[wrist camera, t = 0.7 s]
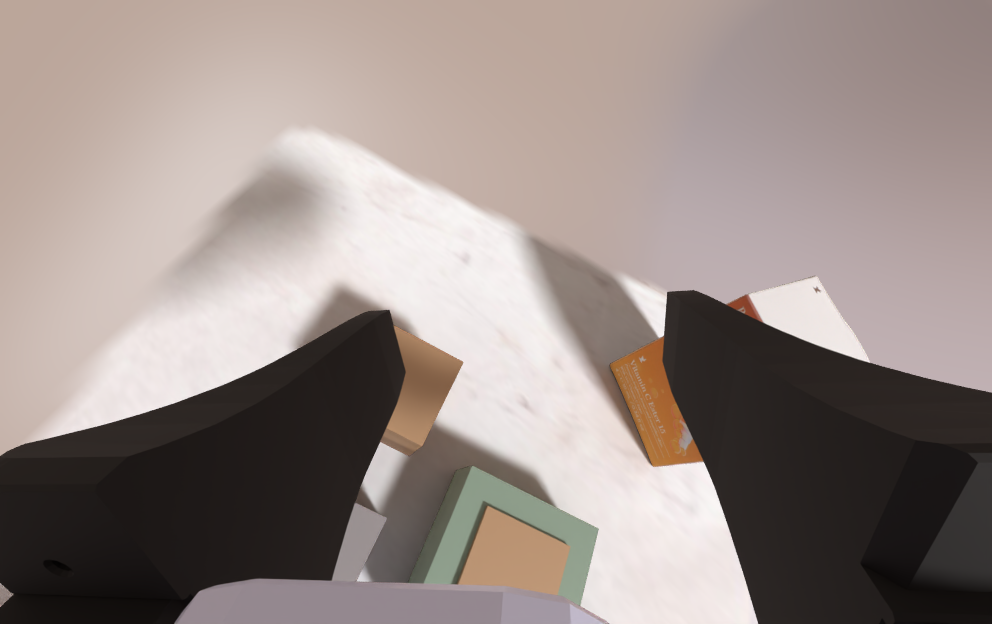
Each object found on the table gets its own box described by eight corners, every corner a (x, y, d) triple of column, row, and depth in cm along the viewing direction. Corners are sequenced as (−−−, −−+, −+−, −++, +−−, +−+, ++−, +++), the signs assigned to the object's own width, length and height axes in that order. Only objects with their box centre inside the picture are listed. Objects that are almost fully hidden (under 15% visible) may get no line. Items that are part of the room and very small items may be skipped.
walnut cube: (408, 456, 25) (422, 446, 21) (333, 418, 25) (331, 400, 21) (444, 384, 28) (463, 362, 24) (377, 348, 27) (383, 319, 23)
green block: (523, 677, 23) (558, 711, 19) (391, 618, 22) (401, 641, 18) (565, 525, 27) (601, 529, 23) (455, 470, 26) (473, 464, 22)
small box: (606, 364, 32) (745, 289, 21) (666, 346, 35) (818, 271, 24) (651, 470, 30) (835, 450, 19) (712, 443, 33) (906, 410, 21)
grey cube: (328, 617, 21) (324, 646, 17) (235, 575, 21) (207, 594, 16) (379, 515, 24) (387, 518, 19) (297, 476, 23) (287, 469, 19)
